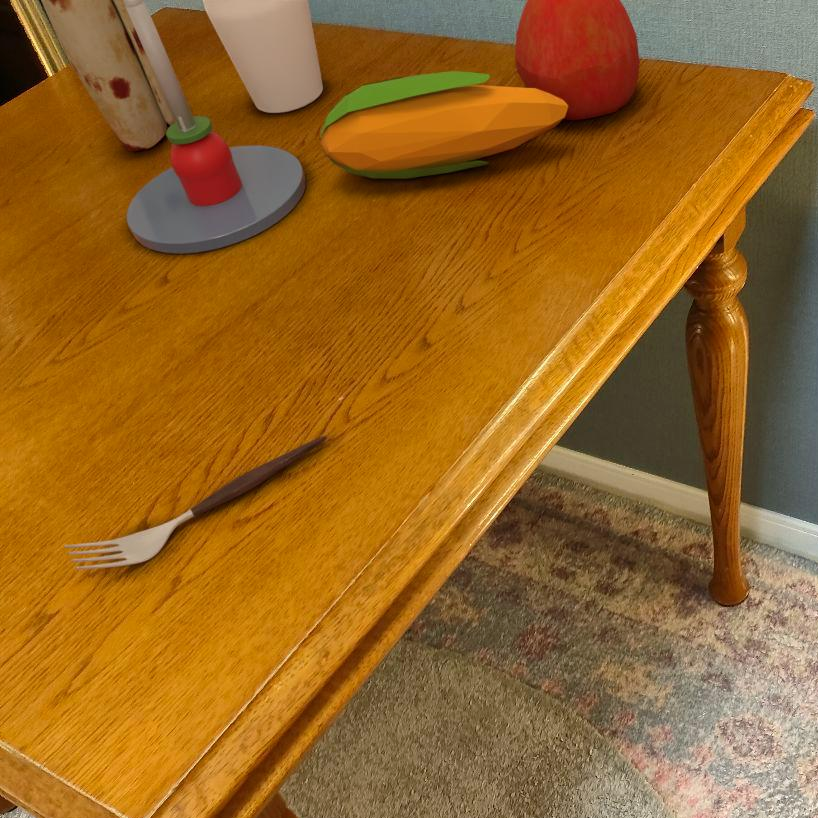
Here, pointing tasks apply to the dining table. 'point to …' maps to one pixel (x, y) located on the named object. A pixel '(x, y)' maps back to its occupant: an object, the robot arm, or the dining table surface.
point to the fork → (185, 515)
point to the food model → (112, 68)
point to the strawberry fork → (187, 126)
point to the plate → (224, 222)
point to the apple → (579, 54)
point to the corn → (433, 124)
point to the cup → (270, 50)
